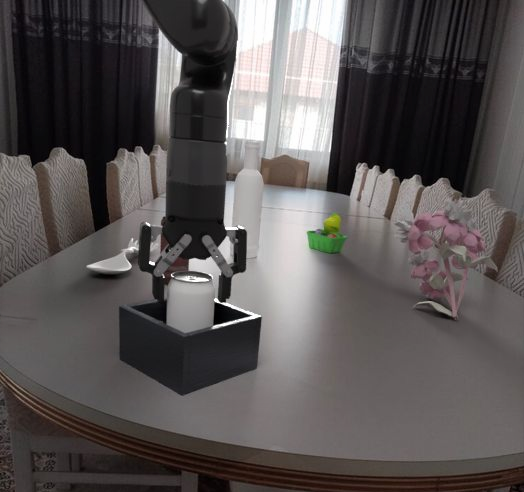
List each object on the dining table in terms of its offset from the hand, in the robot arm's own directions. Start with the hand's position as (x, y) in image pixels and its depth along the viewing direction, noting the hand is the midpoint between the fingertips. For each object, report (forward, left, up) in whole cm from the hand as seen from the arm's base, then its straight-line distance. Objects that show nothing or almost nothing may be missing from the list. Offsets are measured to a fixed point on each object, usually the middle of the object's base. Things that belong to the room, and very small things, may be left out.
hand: (191, 301), depth 71 cm
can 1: (+25, +35, -10) cm, 44 cm away
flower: (+64, -7, -10) cm, 65 cm away
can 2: (0, 0, -9) cm, 9 cm away
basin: (0, 0, -9) cm, 9 cm away
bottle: (+60, +48, -10) cm, 77 cm away
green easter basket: (+91, +42, -10) cm, 101 cm away
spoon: (+25, +54, -10) cm, 60 cm away
